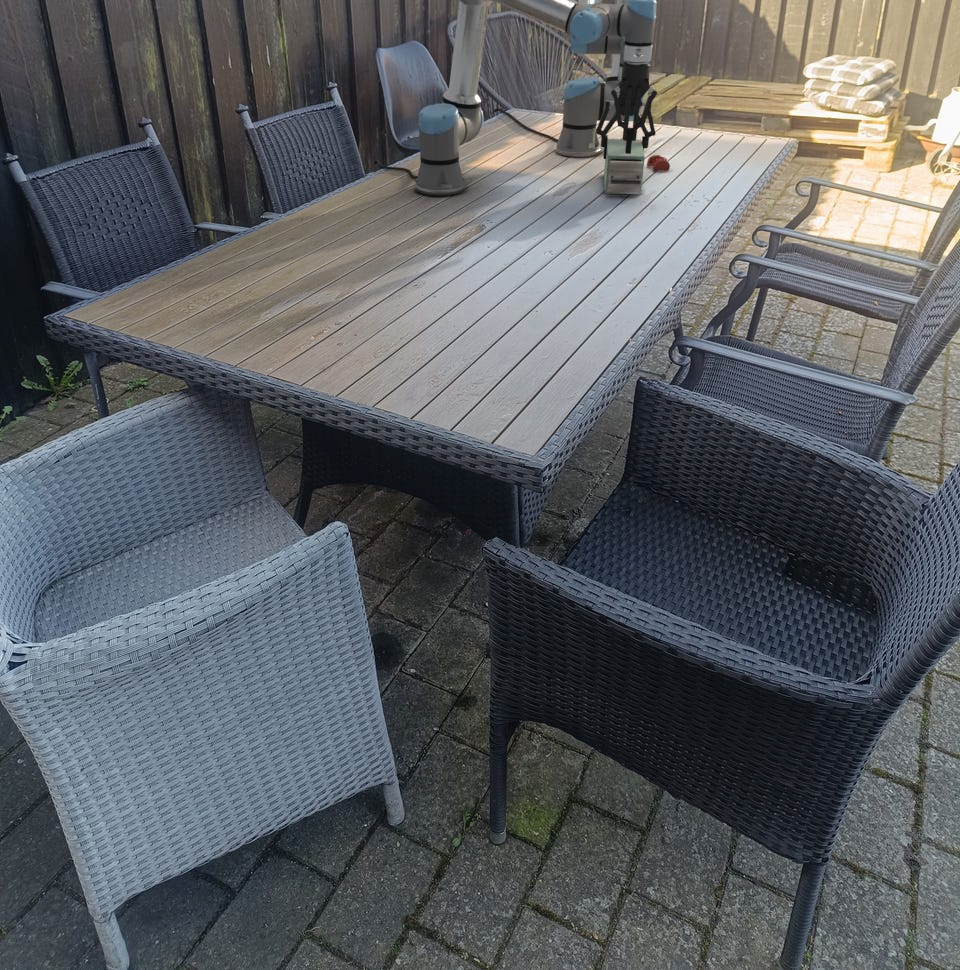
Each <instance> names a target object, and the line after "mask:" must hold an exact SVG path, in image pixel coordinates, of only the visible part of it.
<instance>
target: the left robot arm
mask: <svg viewBox="0 0 960 970" xmlns="http://www.w3.org/2000/svg"><path fill="white" fill-rule="evenodd" d="M493 2H495V3H497V4H499V5H502V6H504V7H506V8H508V9H511V10H513V11H515V12H518V13H519V14H522V15H524V16H526V17H528V18H531V19H533V20H536V21H538V22H540V23H542V24H545V25H547V26H549V27H552V28H554V29H555V30H558V31H561V32H563V33H565V34H567V35H569V36H570V37H571V36H572V37H573V39H574V40H575V41H576V42H578V43H580V44H590V43H592V42H594V41H596V40H598V39H600V38H602V37H604V36H619V37H625V44H624V56H623V60H624V61H625V62H624V63H623V67H622V78H621V81H620V83H619V86H618V87H616V88H615V89H611V94H612V96H613V98H614V101H615V108H616V115H617V121H616V122H617V126H618V127H619V128H622V139H623V141H626V148H625V153H626V154H631V147H632V141H636V140H637V135H638V130H639V129H641V127H643V126H644V124H645V125H646V121H647V119H648V116H647V115H648V113H649V110H650V107H651V108H652V103H653V101H654V99H655V98H656V96H657V95H658V91H657V89H654V88H653V87H652V86H651V83H650V74H651V63H650V62H651V61H652V55H653V46H654V36H655V35H654V34H655V26H656V19H657V0H628V3H627V5H616V3H615V4H614V3H602V4H601V3H589V4H587V5H586V6H585V5H583V4H580V3H578V1H576V0H458V5H457V6H458V7H457V17H456V25H455V33H454V42H453V50H452V60H451V68H450V77H449V86H448V88H447V90H446V91H445V92H443V95H442V101H441V102H442V103H441V102H440V103H434V104H429V105H427V106H425V107H422V109H421V110H420V112H419V113H418V122H417V123H418V136H419V138H418V139H419V157H420V158H419V159H420V161H419V162H420V164H419V168H418V172H417V175H414V174H413V171H411V170H410V169H408V168H406V167H399V166H386V165H383V164H381V162H380V160H379V159H375V160H374V162H373V164H375V165H377V166H378V167H379V168H380V169H384V170H391V171H392V170H393V171H402V172H407V173H408V174H409V176H410V177H411V178H412V179H414V180H415V179H416V180H415V183H414V184H415V185H414V186H415V192H417V193H418V194H420V195H424V196H430V197H450V196H455V195H459V194H461V193H463V192H464V191H466V181H465V179H464V176H463V172H462V169H461V165H460V146H462V145H464V144H466V143H469V142H472V140H474V139H475V138H477V136H478V135H479V134H480V132H481V130H482V129H483V125H484V122H485V121H484V113H483V110H482V108H481V105H482V99H481V97H480V96H479V94H478V90H479V89H478V88H479V83H480V82H479V81H480V76H481V75H480V74H481V67H482V60H483V51H484V44H485V37H486V32H487V31H486V29H487V23H488V15H489V8H490V5H491V4H492V3H493ZM620 90H621V91H622V93H623V95H624V96H625V98H626V106H625V116H624V122H623V121H622V120H621V112H620V105H619V98H618V96H619V95H620V92H619V91H620ZM646 93H647V96H648V97H647V99H646V101H647V102H646V105H645V108H644V107H643V111H642V113H641V120H640V122H638V118H639V108H640V99H641V98H642V97H643V96H644V97H645V95H646ZM631 99H635V108H634V119H633V121H632V127H629V123H630V121H629V115H630V105H631Z"/></svg>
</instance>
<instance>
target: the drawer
mask: <svg viewBox="0 0 960 970" xmlns="http://www.w3.org/2000/svg"><path fill="white" fill-rule="evenodd" d="M642 167H643V162H641V161H639V160H634V159H611V161H610V167H609V179H608V190H607V193H614V194H613V195H636V194H640V185H641V176H642Z"/></svg>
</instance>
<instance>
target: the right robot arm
mask: <svg viewBox="0 0 960 970" xmlns="http://www.w3.org/2000/svg"><path fill="white" fill-rule="evenodd" d="M577 2H578V3H580V4H583V5H585V6H586V5H587V4H589V3H601V4H603V0H577ZM627 3H628V0H615V4H616V5H627ZM624 44H625V37H619V36H604V37H602V38H600V39H598V40H596V41H594V42H592V43H590V44H580V43H578V42H576V41H575V40H574V39H573V37H572V36H571V35H570V46H569V47H570V48H569V49H570V52H571V53H572V54H581V55H612V58H611V71H610V73H608V75H607V76H606V79H605V82H601V79H600V78H599V77H592V76H591V77H590V76H589V77H581V78H575V79H572V80H570V81H568V82H567V83H566V84H565V87H564V93H563V94H564V95H563V112H562V128H561V131H560V135H559V136H558V138H556V137H554V136H552V135H550V134H547V133H544V132H541V131H538V130H535V129H533V128H531V127H528V126H527V125H525V124H524V123H522V122H520V121H519V119H517V118H516V117H515V116H514V115H512V114H511V113H509V112H508V111H505V110H504V109H502V108H499V107H498V108H495V109H494V110H493V113H496V112H501V113H502V114H505V115H507V116H508V117H509V118H511V119H512V120H513V121H514V122H516V123H517V124H518V125H519V126H521V128H523V129H525V130H527V131H529V132H531V133H534V134H536V135H539V136H542V137H545V138H547V139H549V140H552V141H553V142H555V143H556V146H555V152H556V153H557V154H558V155H561V156H562V157H563V156H564V157H570V158H590V157H596V156H598V155H599V154H600V153H601V148H603V157H602V158H603V159H602V160H605V159H606V152H607V141H608V139H609V135H608V133H609V132H610V130H611V128H613V126H614V124H616V122H617V115H616V108H615V101H614V98H613V96H612V94H611V89H615V88H616V87H618V86H619V83H620V81H621V78H622V67H623V63H624V62H625V61H624V60H623V56H624ZM619 92H620V95H619V96H618V98H619V105H620V112H621V120H622V122H624V116H625V106H626V98H625V96H624V95H623V93H622V91H621V90H620V91H619ZM644 98H645V95H644V96H643V97H642V98H641V99H640V108H639V118H638V122H640V120H641V117H642V115H641V111H642V109H644V108H645V105H646V102H647V100H645V101H644ZM634 108H635V99H631V105H630V115H629V122H633V119H634ZM647 120H648V125H649V129H650V130H648V129H647V126H646V123H645V124H644V126H643V127H640V129H641V131H642V133H643V135H642V137H641V141H642V146H643V150H644V151H645V149H648V148H649V142H650V138H651V137H655V136H656V128H655V124H654V120H653V114H652V106H651V107H650V110H649V113H648V115H647ZM597 122H598V123H597ZM605 122H608V123H607V124H606V126H604V124H605ZM597 124H598V125H597ZM603 127H604V128H603ZM602 129H603V130H602ZM599 136H600V137H601V138H600V140H599Z"/></svg>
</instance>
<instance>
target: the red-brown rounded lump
mask: <svg viewBox="0 0 960 970" xmlns="http://www.w3.org/2000/svg"><path fill="white" fill-rule="evenodd" d="M670 166H671V165H670V163H669V161H668V158H667V157H665V156H661V154H653V155H651V156H649V157H648V159H647V162H646V167H647V168H649V167H652V171H653V172H662V171H669V170H670V169H671V168H670Z"/></svg>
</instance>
